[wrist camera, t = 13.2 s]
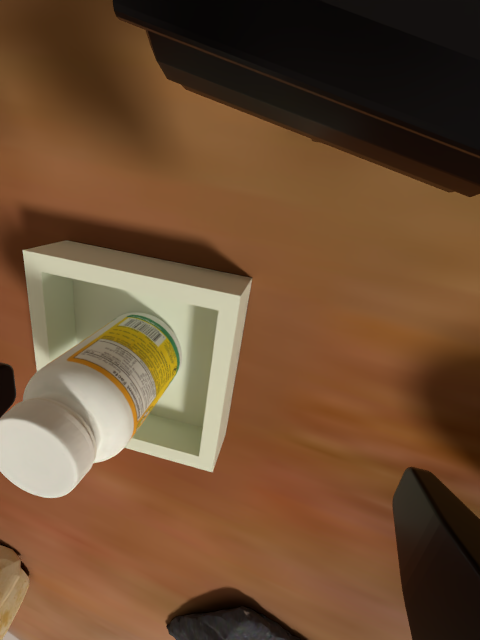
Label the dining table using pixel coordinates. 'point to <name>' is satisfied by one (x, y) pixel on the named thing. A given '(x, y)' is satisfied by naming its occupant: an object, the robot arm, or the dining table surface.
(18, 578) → the food model
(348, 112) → the robot arm
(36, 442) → the supplement bottle
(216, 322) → the bin
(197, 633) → the dark slate chunk
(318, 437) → the dining table surface
